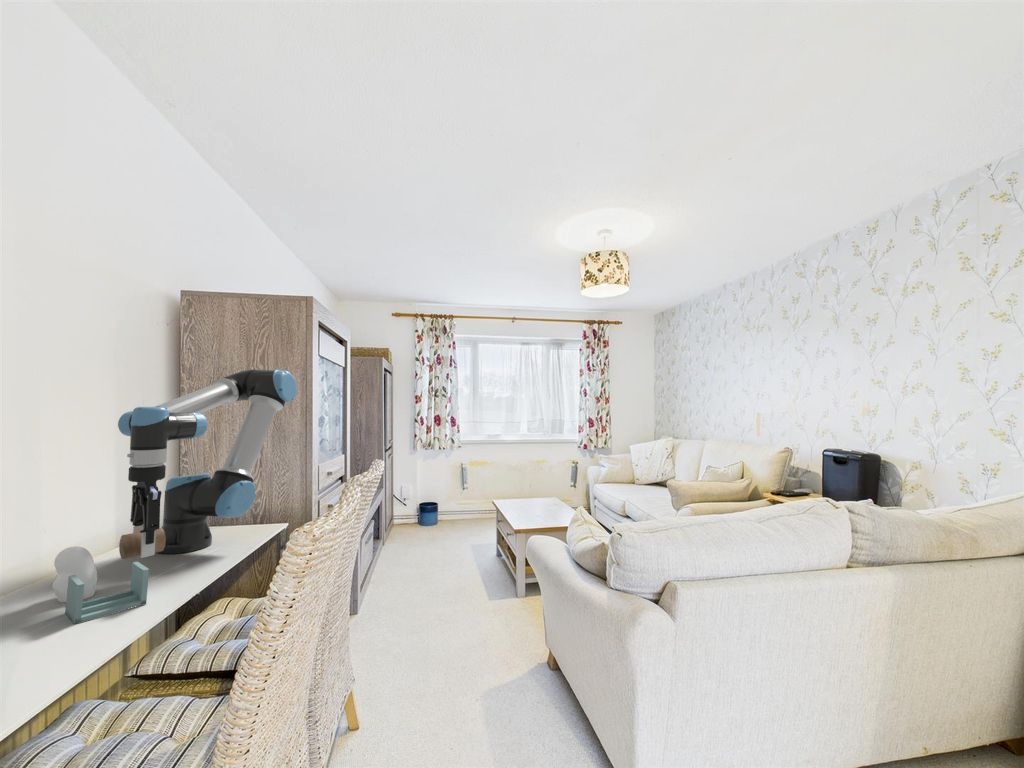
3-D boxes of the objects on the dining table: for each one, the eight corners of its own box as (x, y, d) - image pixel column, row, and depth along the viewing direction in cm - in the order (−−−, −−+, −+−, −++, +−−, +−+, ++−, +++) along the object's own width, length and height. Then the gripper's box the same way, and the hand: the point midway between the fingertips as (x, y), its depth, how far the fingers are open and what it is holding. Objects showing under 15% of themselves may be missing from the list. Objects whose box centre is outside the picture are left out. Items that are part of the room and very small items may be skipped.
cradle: (134, 595, 106) (137, 561, 106) (146, 604, 101) (149, 569, 102) (65, 613, 96) (68, 575, 96) (74, 624, 91) (77, 585, 92)
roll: (156, 548, 119) (158, 526, 119) (164, 553, 116) (166, 530, 116) (118, 556, 113) (120, 532, 113) (125, 561, 109) (127, 537, 109)
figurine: (53, 596, 104) (58, 545, 104) (97, 588, 108) (101, 539, 109) (48, 607, 98) (53, 553, 99) (94, 598, 103) (99, 547, 104)
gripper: (118, 462, 117) (113, 549, 117) (141, 471, 107) (136, 566, 106) (152, 459, 123) (148, 541, 123) (178, 467, 113) (174, 557, 112)
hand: (143, 552), depth 114 cm, fingers closed on roll, 6 cm apart
